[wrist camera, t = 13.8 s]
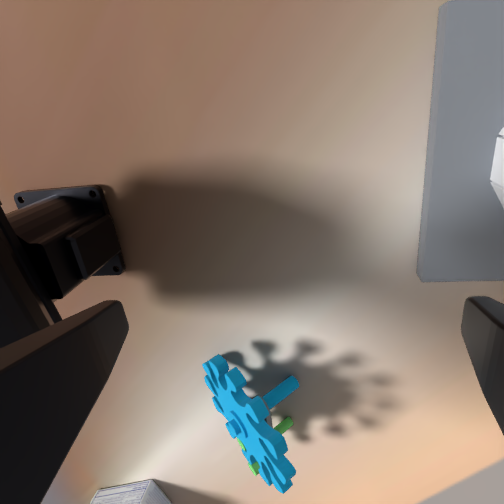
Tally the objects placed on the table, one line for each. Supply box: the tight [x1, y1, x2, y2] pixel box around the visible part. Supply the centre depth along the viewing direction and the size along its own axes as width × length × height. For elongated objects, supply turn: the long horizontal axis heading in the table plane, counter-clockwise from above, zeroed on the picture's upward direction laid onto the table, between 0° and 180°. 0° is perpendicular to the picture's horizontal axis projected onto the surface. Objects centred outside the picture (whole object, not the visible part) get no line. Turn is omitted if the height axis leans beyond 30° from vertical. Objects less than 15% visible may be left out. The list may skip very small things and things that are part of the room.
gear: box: [202, 354, 299, 494], centre depth 26 cm, size 11×6×10 cm
